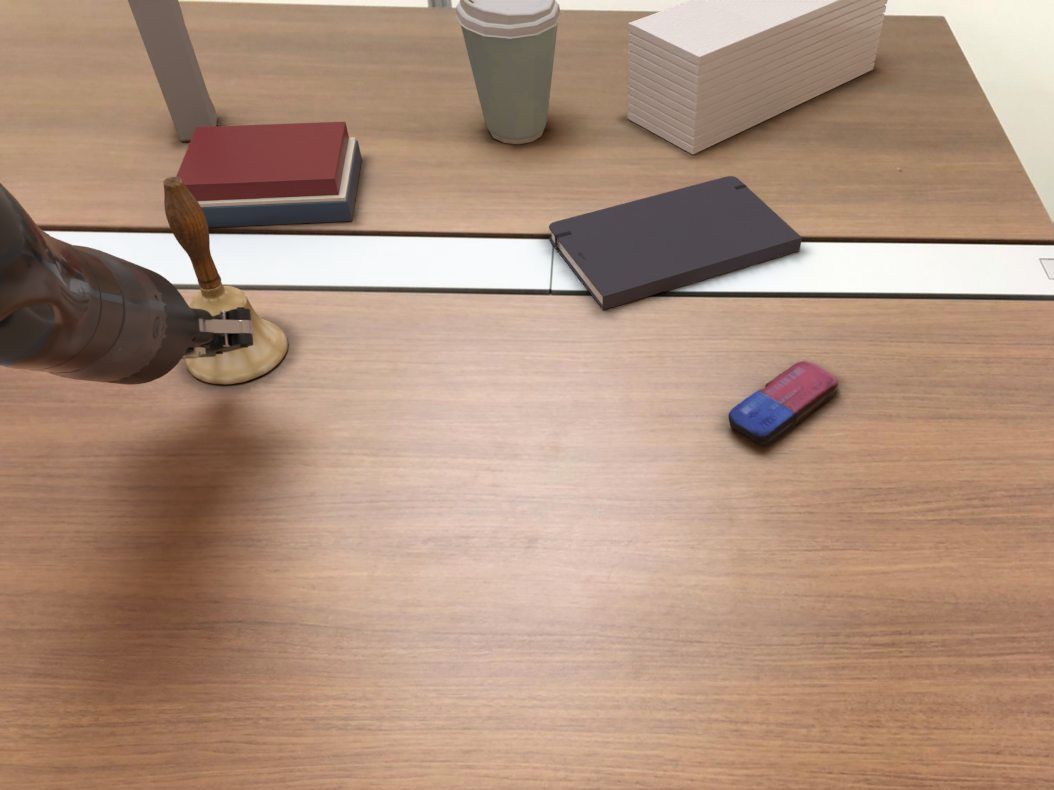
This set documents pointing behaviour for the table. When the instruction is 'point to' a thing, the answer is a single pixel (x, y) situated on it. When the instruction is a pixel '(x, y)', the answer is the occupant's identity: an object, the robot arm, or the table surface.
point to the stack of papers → (742, 62)
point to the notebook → (671, 240)
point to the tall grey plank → (174, 64)
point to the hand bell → (218, 296)
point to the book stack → (273, 173)
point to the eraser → (783, 402)
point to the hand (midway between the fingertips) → (205, 343)
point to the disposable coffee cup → (511, 62)
